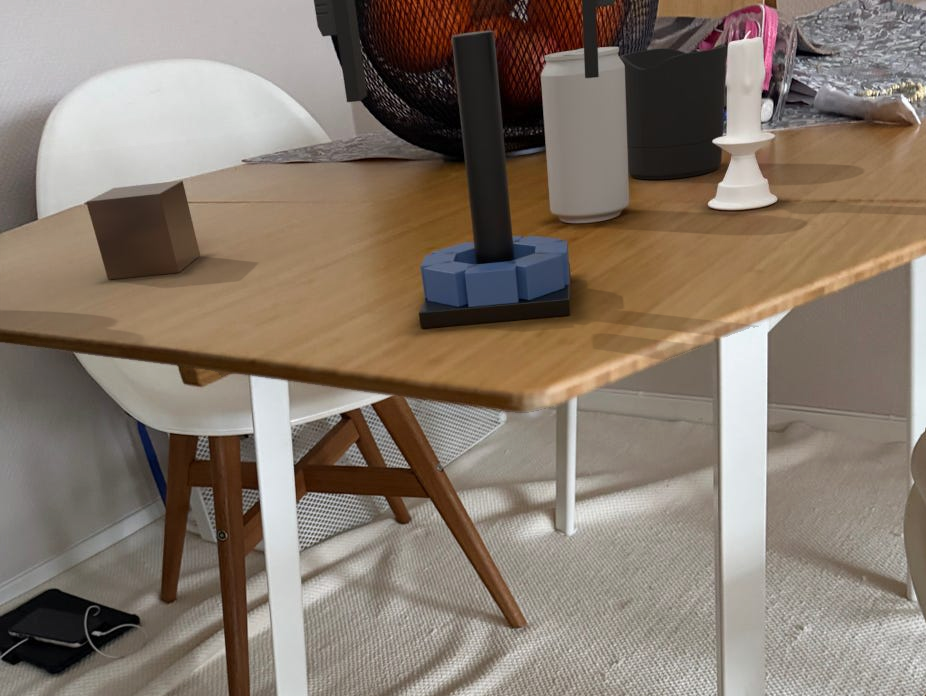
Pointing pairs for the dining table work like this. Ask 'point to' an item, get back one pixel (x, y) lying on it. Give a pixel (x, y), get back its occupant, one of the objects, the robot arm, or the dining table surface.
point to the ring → (496, 273)
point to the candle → (744, 129)
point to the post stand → (487, 187)
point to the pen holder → (674, 111)
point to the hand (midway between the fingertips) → (473, 88)
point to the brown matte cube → (144, 230)
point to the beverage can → (585, 136)
